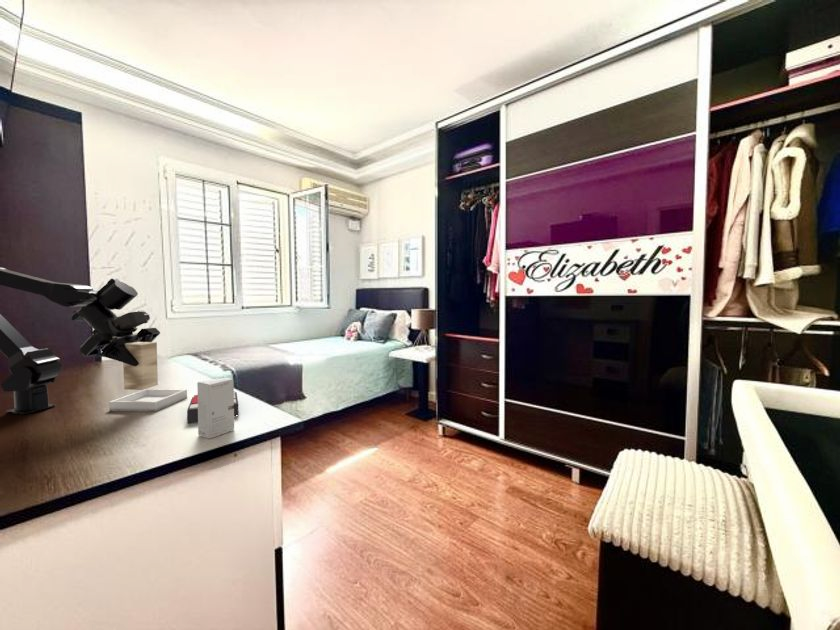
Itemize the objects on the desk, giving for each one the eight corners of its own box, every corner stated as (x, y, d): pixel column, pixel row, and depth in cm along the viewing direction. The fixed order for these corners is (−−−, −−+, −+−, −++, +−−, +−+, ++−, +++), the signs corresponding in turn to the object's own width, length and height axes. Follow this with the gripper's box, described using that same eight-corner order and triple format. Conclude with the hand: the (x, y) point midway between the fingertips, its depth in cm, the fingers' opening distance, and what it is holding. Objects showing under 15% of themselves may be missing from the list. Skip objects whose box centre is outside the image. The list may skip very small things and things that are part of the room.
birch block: (124, 389, 89) (122, 344, 88) (140, 384, 94) (139, 341, 93) (142, 389, 89) (141, 344, 88) (157, 384, 94) (156, 342, 93)
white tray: (109, 410, 90) (109, 401, 90) (146, 396, 102) (146, 388, 102) (155, 411, 90) (154, 402, 89) (187, 397, 102) (186, 389, 102)
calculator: (236, 389, 100) (238, 400, 87) (236, 403, 100) (238, 417, 87) (192, 394, 95) (186, 407, 82) (192, 409, 95) (187, 424, 82)
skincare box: (210, 439, 73) (208, 384, 73) (196, 435, 75) (195, 382, 74) (235, 429, 79) (235, 378, 78) (223, 426, 81) (222, 376, 80)
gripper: (89, 301, 81) (135, 348, 81) (153, 300, 100) (190, 338, 100) (59, 333, 82) (105, 379, 82) (128, 326, 100) (165, 363, 101)
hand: (145, 363), depth 91 cm, fingers closed on birch block, 5 cm apart
